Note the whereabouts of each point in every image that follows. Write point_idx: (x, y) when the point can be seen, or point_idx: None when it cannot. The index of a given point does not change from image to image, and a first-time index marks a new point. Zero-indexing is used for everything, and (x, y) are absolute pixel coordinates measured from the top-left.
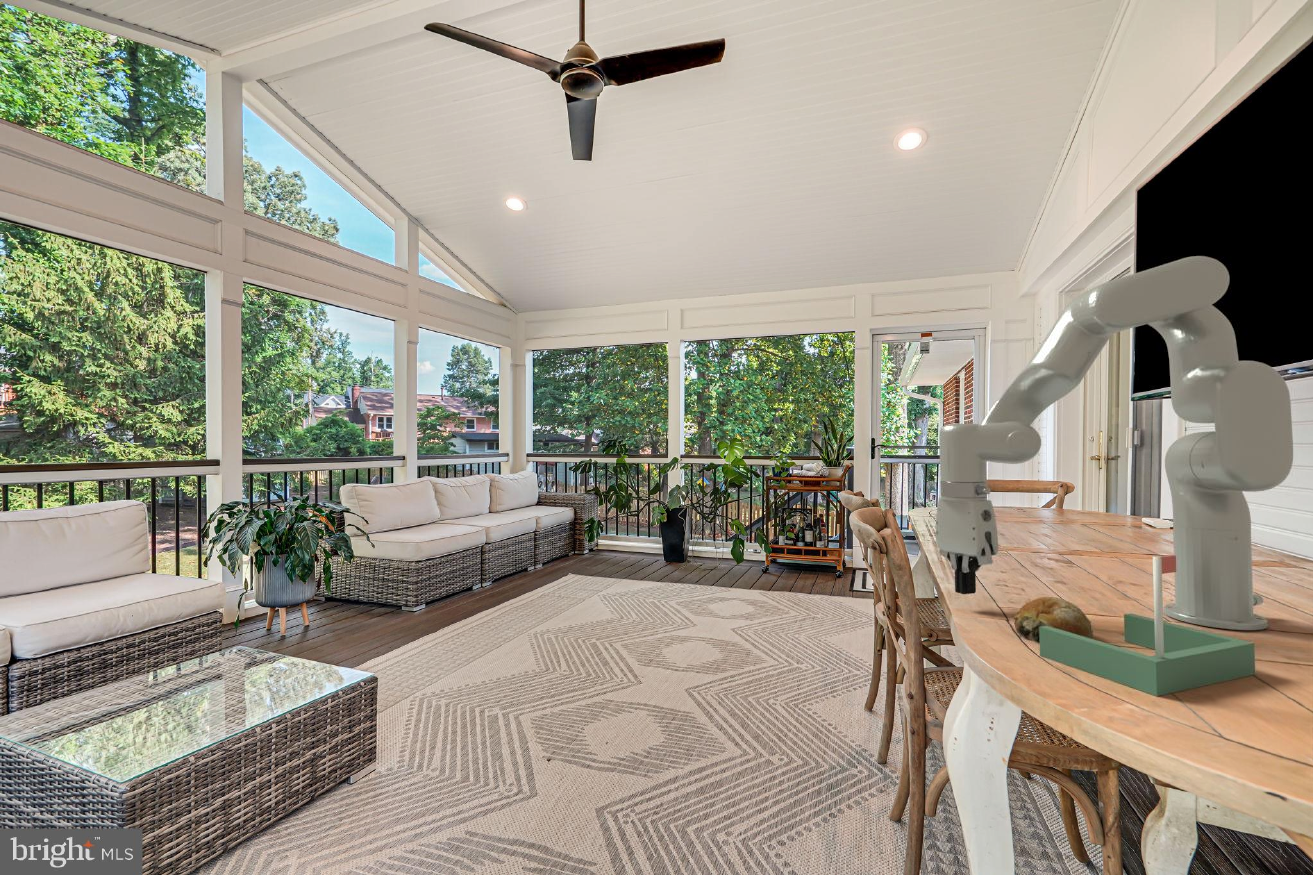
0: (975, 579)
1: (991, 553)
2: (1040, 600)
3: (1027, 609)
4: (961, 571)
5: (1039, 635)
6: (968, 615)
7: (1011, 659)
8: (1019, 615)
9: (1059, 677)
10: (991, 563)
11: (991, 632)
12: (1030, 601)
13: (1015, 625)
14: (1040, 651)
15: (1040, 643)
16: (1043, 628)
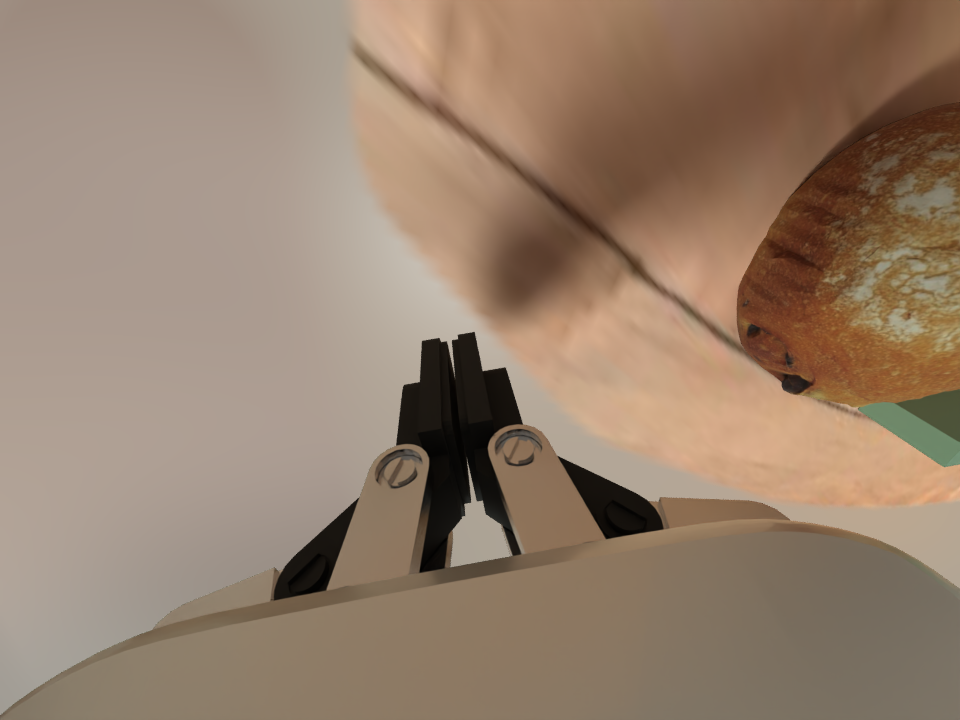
0: (481, 374)
1: (769, 544)
2: None
3: (882, 401)
4: (462, 488)
5: (914, 447)
6: (526, 365)
7: (815, 466)
8: (822, 397)
9: None
10: (765, 510)
11: (692, 406)
12: (910, 378)
13: (764, 368)
14: (869, 416)
15: (892, 430)
16: (955, 464)
